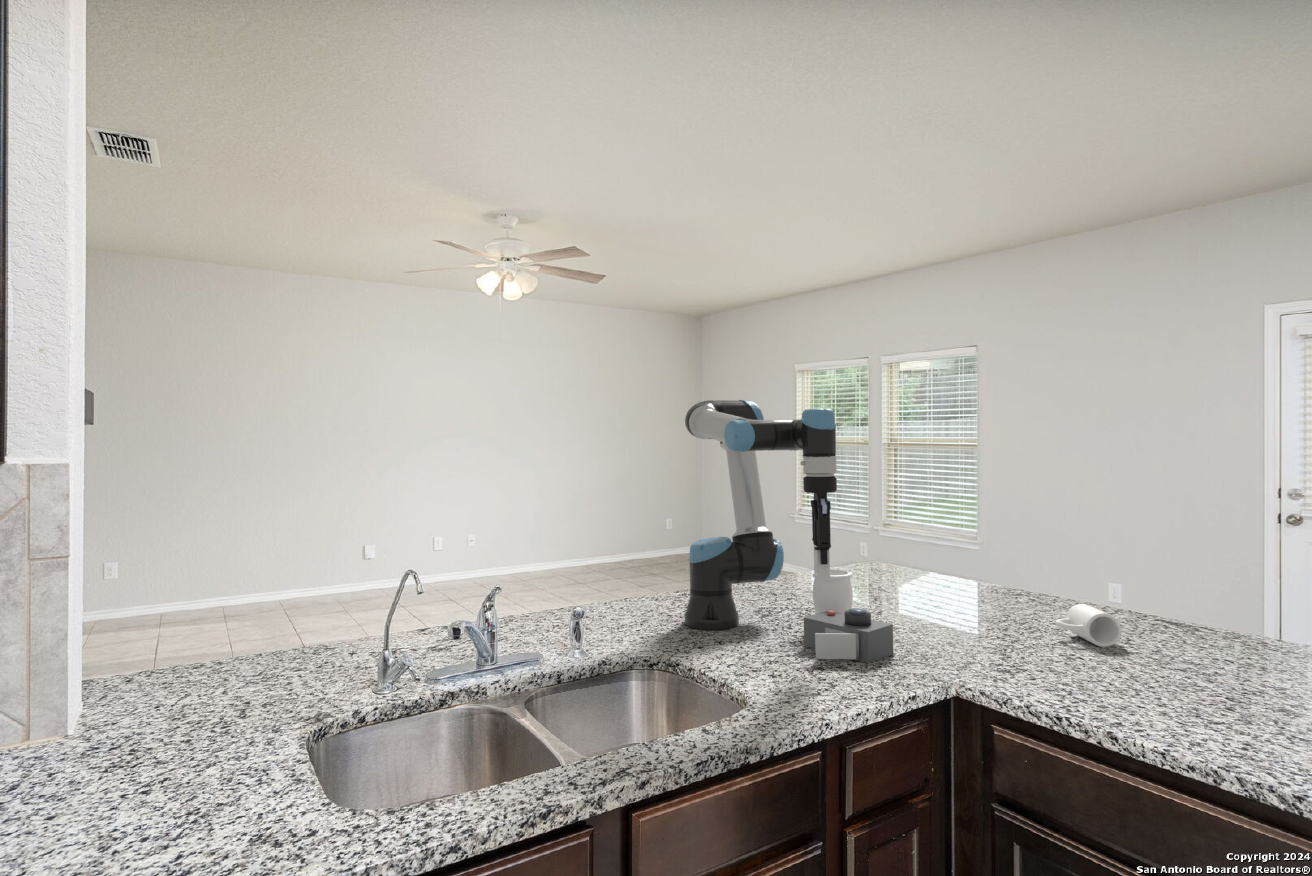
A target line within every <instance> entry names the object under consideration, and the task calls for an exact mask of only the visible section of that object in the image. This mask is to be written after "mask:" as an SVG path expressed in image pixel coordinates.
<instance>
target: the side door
mask: <svg viewBox="0 0 1312 876" xmlns="http://www.w3.org/2000/svg"><path fill="white" fill-rule="evenodd" d="M814 650H815V659H816V660H818V659H819V660H854V659H859V634H858V633H855V634H851V633H815V649H814Z"/></svg>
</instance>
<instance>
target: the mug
mask: <svg viewBox="0 0 1312 876" xmlns="http://www.w3.org/2000/svg"><path fill="white" fill-rule="evenodd" d="M1055 626H1056V627H1058V628H1060V629H1062V630H1067V631H1068V630H1069V631H1070V632H1071V633H1073V634H1074V635H1076V636H1078V637H1080V638H1081V639H1084V640H1086V641H1087V642H1089V643H1091V644H1093V645H1095V646H1097V647H1102V648H1109V647H1112V646H1113V645H1115V644H1117V643H1118V641H1119V640H1120V639H1121V637H1122V632H1123V631H1122V626H1121V623H1120V622H1119V620H1118V619H1117V618H1116V617H1115V616H1113V615H1112V614H1109V613H1107V612H1106V611H1102V610H1100V609H1099V608H1096V607H1093V606H1091V605H1089V604H1084V603H1080V604H1079V603H1078V604H1076V605H1073V606H1071V608H1069V609H1068V610H1067V611H1066V614H1065V618H1059V619H1056V620H1055Z"/></svg>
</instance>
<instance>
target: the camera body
mask: <svg viewBox="0 0 1312 876" xmlns="http://www.w3.org/2000/svg"><path fill="white" fill-rule="evenodd" d="M815 633H851V634H855V633H858V634H859V659H853V661H854V660H855V661H858V662H861V663H865V664H872V663H874V662H877V661H880V660H882V659H884V658H887V657H890V656H893V655H894V624H893V623H889V622H884V621H881V620H875V619H872V613H871V612H870V611H868V610H867V609H865V608H860V607H859V608H857V607H856V608H854V607H852V608H851V609H849V610H847V611H845V612H844V614H842V613H837V612H835V611H826V612H822V613H818V614H816V613H814V614H811V615H807V616H804V617H803V646H804V647H807V648H809V649H813V650H816V649H815Z"/></svg>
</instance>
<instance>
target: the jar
mask: <svg viewBox="0 0 1312 876" xmlns="http://www.w3.org/2000/svg"><path fill="white" fill-rule="evenodd" d="M811 574H812V576H813V578H814V579H813V585H812V601H813V606H814V612H815V613H814V614H818V613H822V612H826V611H835V612H837V613H842V614H844V612H845V611H847V610H849V609H852V608H853V602H854V601H853V599H854V597H853V596H854V595H853V593H854V592H853V586H852V582H851V578H852V577H853V573H852V572H851V571H848V570H844V569H843V570H842V569H836V568H835V569H834V568H833V569H831V568H830V579H818V578H817V574H814V571H812V573H811Z"/></svg>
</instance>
